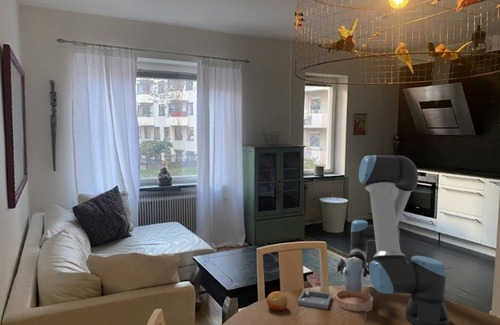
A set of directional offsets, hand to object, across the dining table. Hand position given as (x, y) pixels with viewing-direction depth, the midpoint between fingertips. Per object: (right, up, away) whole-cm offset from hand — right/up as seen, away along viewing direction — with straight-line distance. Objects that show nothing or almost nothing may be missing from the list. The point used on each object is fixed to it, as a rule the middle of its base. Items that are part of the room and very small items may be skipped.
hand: (352, 276), depth 152 cm
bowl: (+2, -13, +5) cm, 14 cm away
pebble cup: (+2, -7, +5) cm, 9 cm away
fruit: (-30, -13, -1) cm, 33 cm away
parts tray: (-14, -13, +6) cm, 20 cm away
